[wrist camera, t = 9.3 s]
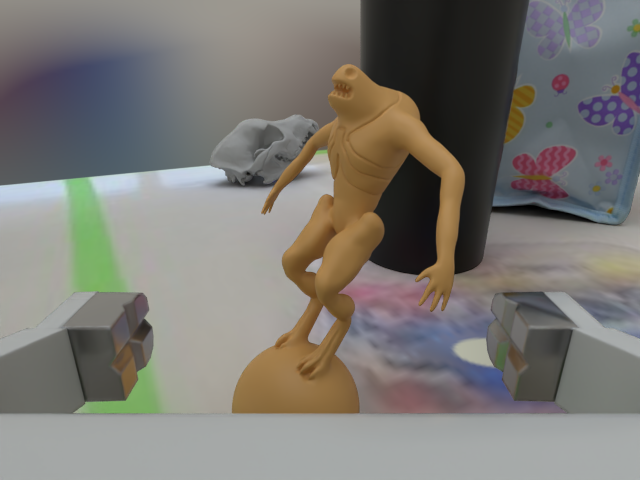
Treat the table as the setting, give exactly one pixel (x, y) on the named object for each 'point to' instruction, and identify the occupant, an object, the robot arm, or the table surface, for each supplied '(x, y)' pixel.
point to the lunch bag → (575, 111)
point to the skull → (262, 148)
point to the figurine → (348, 242)
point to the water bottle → (444, 113)
